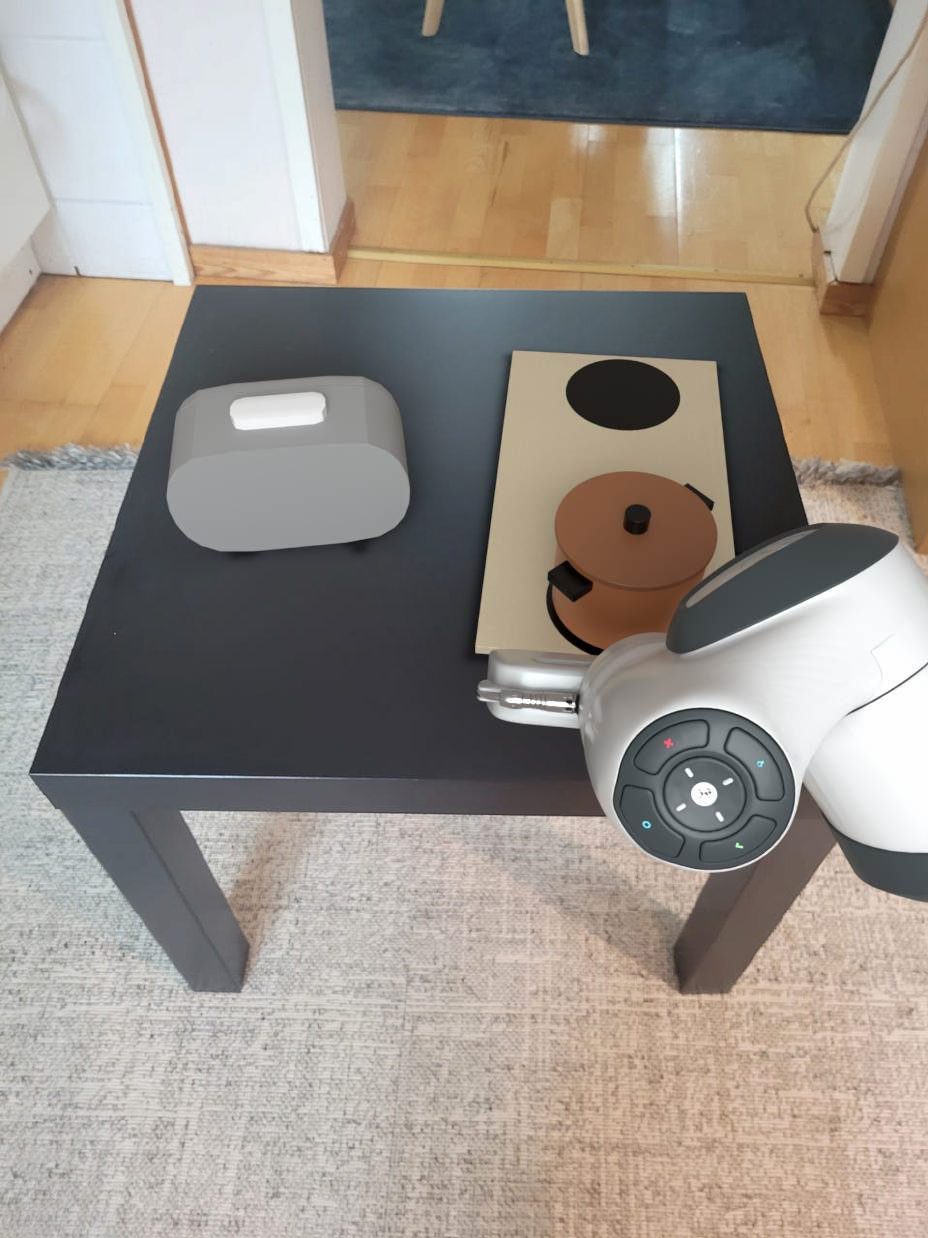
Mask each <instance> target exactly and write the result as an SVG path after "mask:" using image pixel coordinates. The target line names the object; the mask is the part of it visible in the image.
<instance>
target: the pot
mask: <svg viewBox="0 0 928 1238" xmlns="http://www.w3.org/2000/svg"><path fill="white" fill-rule="evenodd" d="M713 506H714V501H712V500H711V499H710V498H708V497H707V496H705V495H704V494H703V493H701V492H700V491H698V490H697V489H696V488H694V487H693V486H691V485H690V484H689V483H687V484H685V485H684V486H683V485H681V484H679V483H677V482H675V481H673V480H670V479H668V478H665V477H662V476H659V475H655V474H650V473H645V472H635V471H622V472H612V473H606V474H602V475H599V476H595V477H593V478H590V479H588V480H586V481H584V482H582V483H580V484H579V485H577V486H576V487H574V488H573V489H572V490H571V491H570V492H569V493H568V494H567V495H566V496H565V497H564V498H563V500H562V501H561V503H560V505H559V507H558V509H557V512H556V517H555V524H554V528H555V537H556V541H557V544H556V555H555V565H554V568H553V569H552V570H550V571H548V577H547V580H548V581H549V582H550V583H551V584H552V585H553V587H552V599H553V605H554V608H555V610H556V613H557V614H558V616H559V618H560V620H561V621H562V622H563V624H564V625H565V626H566V627H567V628H568V629H569V630H570V631H571V632H572V633H573V634H574V635H576V636H577V637H578V638H580V639H582V640H583V641H585V642H587V643H589V644H591V645H593V646H595V647H598V648H601V649H604V650H605V649H607V648H608V647H609V646H611V645H613V644H614V643H616V642H618V641H620V640H622V639H624V638H627V637H629V636H633V635H637V634H642V633H652V632H657V633H667V632H668V628H669V625H670V623H671V620H672V618H673V615H674V613H675V611H676V609H677V607H678V605H679V603H680V601H681V600H682V599H683V598H684V597H685V596H686V595H687V594H688V593H689V592H690V591H691V590H692V589H693V588H694V587H695V586H697V585H698V584H699V583H700V582H701V581H702V580H703V577H704V573H705V570H706V567H707V565H708V564H709V562H710V561H711V559H712V557H713V555H714V552H715V549H716V545H717V540H718V532H717V526H716V522H715V520H714V517H713V515H712V513H711V511H712V510H713Z"/></svg>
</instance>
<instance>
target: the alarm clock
mask: <svg viewBox="0 0 928 1238" xmlns="http://www.w3.org/2000/svg"><path fill="white" fill-rule="evenodd" d="M172 435H173V436H172V437H173V438H172V443H171V454H170V462H169V471H168V479H167V490H166V501H167V506H168V511H169V513H170V515H171V517H172V519H173V521H174V523H175V525H176V526H177V527H178V529H180V531H181V532H182V533H183V534H184V535H185V536H186V538H188V539H189V540H191V541H193V542H194V543H196V544H197V545H199V546H201V547H205V548H208V549H212V550H215V551H217V552H260V551H273V550H282V549H292V548H303V547H304V548H305V547H312V546H313V547H314V546H324V545H334V544H345V543H346V544H347V543H351V542H357V541H361V540H367V539H373V538H378V537H381V536H383V535H384V534H386V533H388V532H390V531H391V530H393V529H395V528H396V527H397V526H398V525H399V524H400V522H401V521H402V520H403V519H404V517H405V516H406V513H407V510H408V508H409V505H410V499H411V498H410V497H411V485H410V478H409V468H408V462H407V461H408V460H407V453H406V445H405V444H406V443H405V437H404V436H405V435H404V427H403V421H402V415H401V412H400V408H399V406H398V404H397V402H396V401H395V399H394V397H393V395H392V393H390V391H388V389H386V388H385V387H384V386H383V385H382V384H381V383H379V382H377V381H374V380H372V379H370V378H367V377H365V376H363V375H320V376H307V377H296V378H283V379H272V380H271V379H270V380H261V381H258V380H257V381H250V382H249V381H246V382H236V383H235V382H233V383H228V384H223V385H217V386H212V387H207V388H201V389H198V390H196V391H195V392H193V393H192V394H190V395H189V396H187V398H185V399H184V400H183V401H182V403H181V404H180V407H178V410H177V411H176V413H175V419H174V428H173V434H172Z"/></svg>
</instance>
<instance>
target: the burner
mask: <svg viewBox="0 0 928 1238" xmlns="http://www.w3.org/2000/svg"><path fill="white" fill-rule="evenodd" d="M566 398H567V401H568V403H569V405H570V406H571V408H572V409H573V410H574V411H575V412H576V413H577V414H578V415H579V416H581V417H582V418H584V419H585V420H587V421H589V422H591V423H593V424H595V425H598V426H601V427H604V428H608V429H614V430H622V431H633V430H642V429H647V428H651V427H654V426H657V425H659V424H661V423H663V422H665V421H667V420H668V419H669V418H670V417H672V416H673V415H674V413H675V412H676V411H677V409H678V407H679V404H680V392H679V389H678V387H677V385H676V383H675V382H674V381H673V380H672V378H671V377H669V376H668V375H667V374H666V373H664V372H663V371H661V370H660V369H658V368H656V367H654V366H652V365H649V364H646V363H643V362H639V361H634V360H627V359H608V360H602V361H597V362H594V363H591V364H588V365H586V366H584V367H582V368H581V369H579V370H578V371H576V372H575V373H574V374H573V375H572V376H571V378H570V379H569V381H568V383H567V385H566Z"/></svg>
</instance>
